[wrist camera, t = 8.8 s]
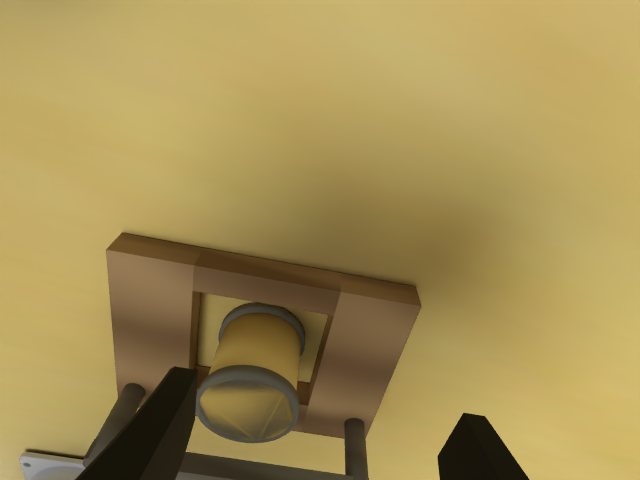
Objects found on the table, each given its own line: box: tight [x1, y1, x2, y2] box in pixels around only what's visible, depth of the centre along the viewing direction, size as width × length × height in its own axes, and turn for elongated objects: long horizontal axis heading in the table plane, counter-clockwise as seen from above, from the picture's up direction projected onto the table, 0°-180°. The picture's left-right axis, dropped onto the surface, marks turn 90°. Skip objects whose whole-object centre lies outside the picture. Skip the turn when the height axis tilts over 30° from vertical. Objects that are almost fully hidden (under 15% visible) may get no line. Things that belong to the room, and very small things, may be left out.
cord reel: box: [196, 302, 305, 443], centre depth 21 cm, size 5×5×5 cm
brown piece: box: [83, 233, 421, 480], centre depth 20 cm, size 11×15×6 cm
